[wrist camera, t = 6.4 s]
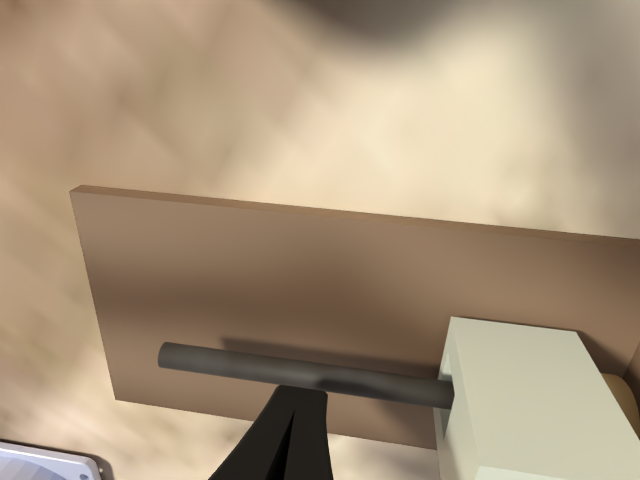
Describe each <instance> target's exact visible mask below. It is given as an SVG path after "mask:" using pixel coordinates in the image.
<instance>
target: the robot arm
mask: <svg viewBox="0 0 640 480" xmlns="http://www.w3.org/2000/svg"><path fill="white" fill-rule="evenodd" d="M327 402H328V394H327V393H326V392H325V391H321V390H315V389H308V388H301V387H294V386H287V385H281V384H280V385H279V386H277V387H276V389H275V390H274V392H273V394H272V396H271V397H270V399H269V401H268V402H267V404H266V405H265V407H264V408H263V410H262V411H261V413H260V414H259V416H258V417H257V419H256V420H255V422H254V423H253V424H252V426H251V427H250V428H249V430H248V431H247V432H246V434H245V435H244V436H243V438H242V439H241V440H240V442H239V443H238V444H237V446H236V447H235V448H234V450H233V451H232V452H231V453H230V454H229V456H228V457H227V458H226V459H225V460H224V461H223V463H222V464H221V465H220V466H219V467H218V469H217V470H216V471H215V472H214V473H213V474H212V476H211V477H210V478H209V479H208V480H334V479H333V474H332V468H331V461H330V454H329V447H328V438H327V424H326V415H327ZM0 480H101V478H100V475H99V471H98V467H97V464H96V462H95V461H94V460H92V459H91V458H88V457H84V456H78V455H73V454H67V453H61V452H55V451H49V450H44V449H38V448H32V447H26V446H21V445H15V444H9V443H3V442H0Z"/></svg>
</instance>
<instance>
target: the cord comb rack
mask: <svg viewBox="0 0 640 480" xmlns="http://www.w3.org/2000/svg"><path fill="white" fill-rule="evenodd" d="M69 193H70V198H71V202H72V207H73V211H74V216H75V220H76V225H77V229H78V234H79V238H80V243H81V247H82V252H83V256H84V261H85V265H86V270H87V274H88V279H89V283H90V288H91V292H92V297H93V301H94V306H95V310H96V315H97V319H98V324H99V328H100V333H101V337H102V342H103V346H104V351H105V355H106V360H107V364H108V369H109V373H110V378H111V382H112V387H113V391H114V396H115V400H120V401H127V402H133V403H139V404H146V405H152V406H159V407H165V408H171V409H178V410H184V411H191V412H197V413H203V414H210V415H216V416H223V417H229V418H235V419H242V420H248V421H254V422H255V420H256V419H257V417H258V416H259V414H260V413H261V411H262V410H263V408H264V407H265V405H266V404H267V402H268V401H269V399H270V397H271V396H272V394H273V392H274V390H275V389H276V387H277V386H279V385H280V384H281V385H287V386H294V387H301V388H308V389H315V390H321V391H325V392H326V393H327V394H328V402H327V415H326V424H327V433H331V434H338V435H344V436H350V437H357V438H363V439H370V440H376V441H382V442H389V443H395V444H402V445H408V446H414V447H421V448H427V449H434V450H437V442H436V432H435V422H434V412H433V407H434V408H441V409H448V410H451V409H452V405H453V401H454V397H455V392H454V386H453V381H446V380H439V379H438V375H439V371H440V366H441V361H442V357H443V352H444V347H445V343H446V338H447V333H448V329H449V324H450V319H451V317H458V318H467V319H475V320H483V321H491V322H499V323H508V324H516V325H524V326H532V327H540V328H549V329H557V330H565V331H573V332H576V333H577V335H578V336H579V338H580V340H581V341H582V343H583V345H584V346H585V348H586V350H587V352H588V353H589V355H590V357H591V358H592V360H593V362H594V363H595V365H596V367H597V369H598V370H599V372H600V374H601V375H602V377H603V379H604V381H605V382H606V384H607V386H608V387H609V389H610V391H611V392H612V394H613V396H614V398H615V399H616V401H617V403H618V404H619V406H620V408H621V410H622V411H623V413H624V415H625V416H626V418H627V420H628V421H629V423H630V425H631V427H632V428H633V430H634V432H635V433H636V435H637V437H638V439H639V440H640V240H638V239H627V238H617V237H607V236H597V235H586V234H576V233H566V232H556V231H546V230H535V229H525V228H515V227H505V226H494V225H484V224H474V223H464V222H453V221H443V220H433V219H423V218H412V217H402V216H392V215H382V214H372V213H361V212H351V211H341V210H331V209H320V208H310V207H300V206H290V205H279V204H269V203H259V202H249V201H238V200H228V199H218V198H208V197H197V196H187V195H177V194H167V193H157V192H146V191H136V190H126V189H116V188H105V187H95V186H85V185H80V186H78V187H76V188H75V189H73V190H71V191H69Z"/></svg>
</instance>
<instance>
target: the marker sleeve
mask: <svg viewBox="0 0 640 480" xmlns="http://www.w3.org/2000/svg"><path fill="white" fill-rule="evenodd" d="M438 379H439V380H446V381H453V386H454V392H455V397H454V401H453V405H452V409H451V410H448V409H441V408H434V407H433V412H434V422H435V432H436V442H437V452H438V462H439V472H440V480H640V440H639V439H638V437H637V435H636V433H635V432H634V430H633V428H632V427H631V425H630V423H629V421H628V420H627V418H626V416H625V415H624V413H623V411H622V410H621V408H620V406H619V404H618V403H617V401H616V399H615V398H614V396H613V394H612V392H611V391H610V389H609V387H608V386H607V384H606V382H605V381H604V379H603V377H602V375H601V374H600V372H599V370H598V369H597V367H596V365H595V363H594V362H593V360H592V358H591V357H590V355H589V353H588V352H587V350H586V348H585V346H584V345H583V343H582V341H581V340H580V338H579V336H578V335H577V333H576V332H573V331H565V330H557V329H549V328H540V327H532V326H524V325H516V324H508V323H499V322H491V321H483V320H475V319H467V318H458V317H451V319H450V324H449V329H448V333H447V338H446V343H445V347H444V352H443V357H442V361H441V366H440V371H439V375H438Z"/></svg>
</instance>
